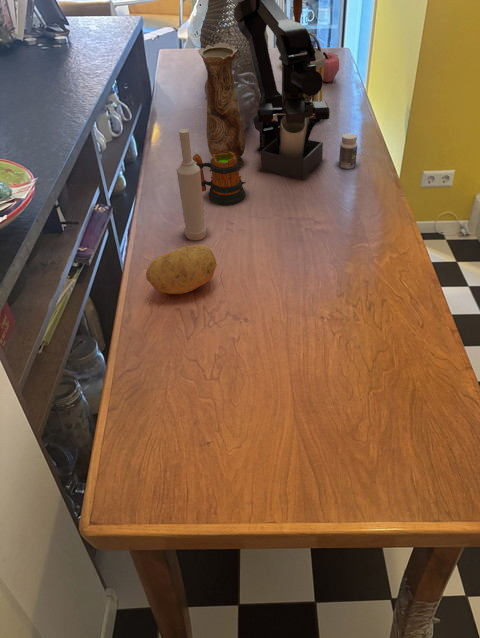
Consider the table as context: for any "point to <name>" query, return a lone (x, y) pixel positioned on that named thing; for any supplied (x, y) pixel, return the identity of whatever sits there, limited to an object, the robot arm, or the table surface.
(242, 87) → the ornament
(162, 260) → the potato
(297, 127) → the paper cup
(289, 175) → the bin
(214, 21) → the vase
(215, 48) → the vase
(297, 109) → the robot arm
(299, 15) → the handbell
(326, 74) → the apple
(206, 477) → the table surface
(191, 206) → the bottle
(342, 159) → the pill bottle
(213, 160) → the mug
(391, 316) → the table surface
